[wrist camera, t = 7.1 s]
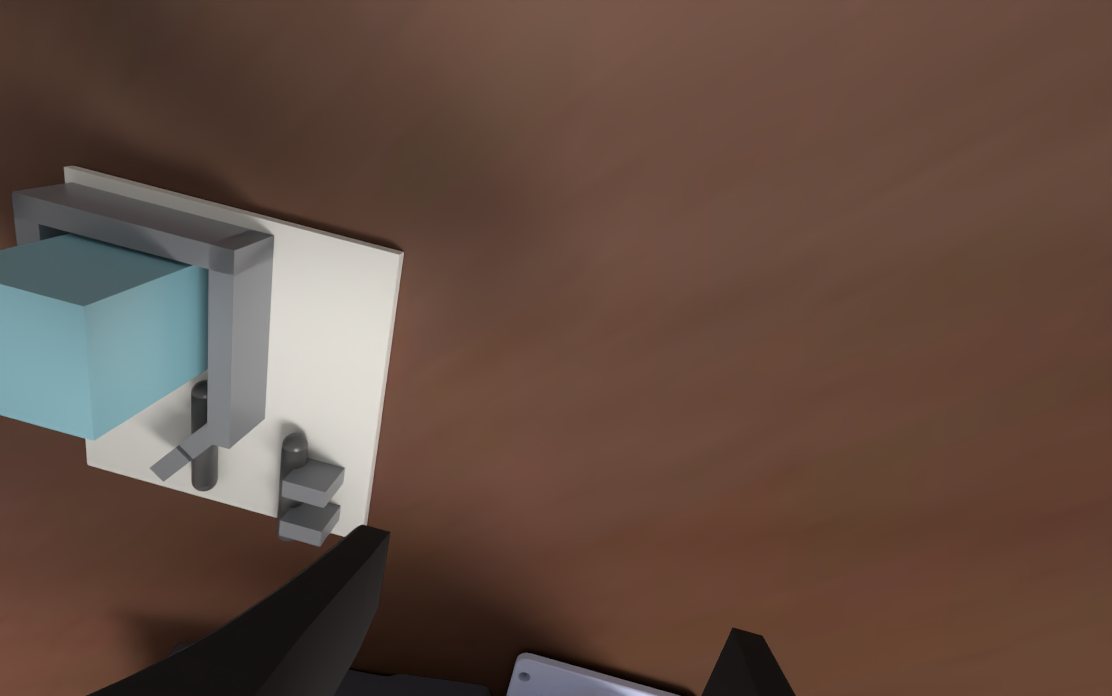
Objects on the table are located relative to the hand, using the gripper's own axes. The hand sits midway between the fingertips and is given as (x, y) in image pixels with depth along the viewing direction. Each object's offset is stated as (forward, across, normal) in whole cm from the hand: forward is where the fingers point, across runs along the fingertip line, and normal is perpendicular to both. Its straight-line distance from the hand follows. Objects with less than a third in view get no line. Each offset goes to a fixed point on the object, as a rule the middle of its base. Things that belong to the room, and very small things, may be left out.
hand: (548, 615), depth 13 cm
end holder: (+10, +15, 0) cm, 18 cm away
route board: (+10, +13, +2) cm, 17 cm away
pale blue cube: (+10, +15, 0) cm, 18 cm away
